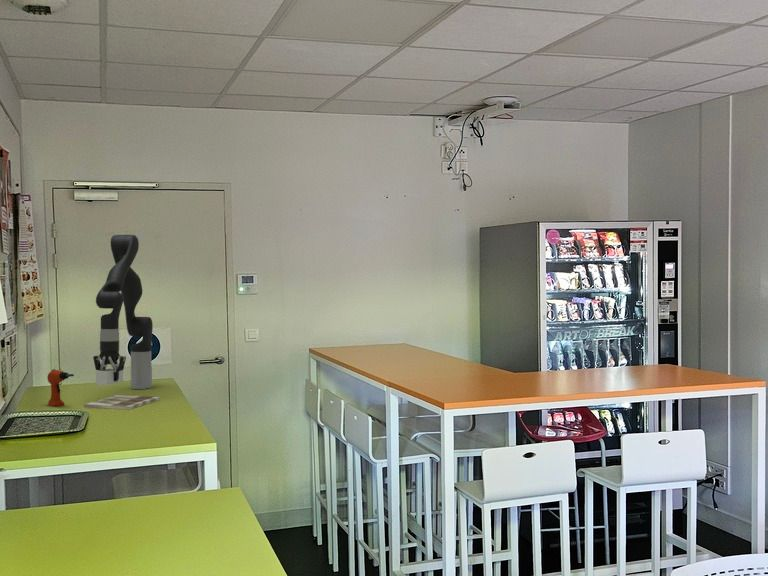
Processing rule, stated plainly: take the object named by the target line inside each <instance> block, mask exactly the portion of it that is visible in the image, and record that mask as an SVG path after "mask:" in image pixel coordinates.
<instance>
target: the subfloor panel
mask: <svg viewBox="0 0 768 576" xmlns="http://www.w3.org/2000/svg"><path fill="white" fill-rule="evenodd" d="M156 400H157V401H159V400H160V396H155V395H154V396H153V395H126V394H125V395H123V394H122V395H121V394H116V395H112V396H110V397H105V398H102V399H101V398H100V399H98V400H95V401H92V402H88V403H84V404H83V408H87V409H90V408H91V409H113V410H128V411H129V410H133V409H136V408H139V407H142V406H145V405H147V404H151V403H153V401H154V402H157V401H156Z"/></svg>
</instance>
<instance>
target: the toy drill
mask: <svg viewBox="0 0 768 576" xmlns="http://www.w3.org/2000/svg"><path fill="white" fill-rule="evenodd" d="M74 376H75V375H74V373H68V372H65V371H63V370H56V368H54V369H51V371H50V372H48V373H47V381H48V383H49V384H50V388H51V389H50V390H51V394H50V398H49V400H48V402H47V406H50V407H55V408H56V407H64V406H65V402H64V401H63V400H62V399H61V389H60V388H61V387H60V383H61V382H63V381H64V380H67V379H69V377H70V378H71V377H74Z"/></svg>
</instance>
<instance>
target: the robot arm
mask: <svg viewBox="0 0 768 576" xmlns="http://www.w3.org/2000/svg"><path fill="white" fill-rule="evenodd" d="M139 243H140V242H139V239H138V236H136V234H114V235H112V236H111V238H110V249H111V253H112V257H113V260H114V265H113V266H112V267H111V269H110V270H109V271H108V274H107V277H106V280H105V283H104V284H103V285H102V287H101V288H100V290H98V292H97V294H96V296H95V303H96V306H97V308H99V309H104V310H105V309H106V310H107V309H110V310H111V309H112V310H111V312H110V313H106V314H103V315H101V316H100V332H99V351H100V353H99V354H98V355H94V356H93V357H92V359H93V364H94V368H95V370H96V371H100V370H105V369H107V367H108V365H110V366H111V368H113V370H114V381H118V380H119V371H121V370H123V371H124V368H125V364H126V361H127V360H126V359H127V357H126V356H124V355H120V330H119V328H120V327H119V326H120V325H119V323H120V322H119V319H120V315H121V311H122V310H121V309H122V307H124V313H125V314H124V315H125V322H126V331H127V334H128V335H129V336H130V337H139V338H141V337H142V339H141V341H139V342H136V343H134V344H132V345H131V346H130V389H132V390H146V389H147V388H148V389H152V387H151V386H153V366H152V346H153V320H152V318H151V317H150V316H136V314H135V313H136V312H135V309H136V307H137V305H138V303H139V302H140V300H141V298H142V296H143V286H142V280H141V278H140V276H139V275H138V274H137V272H136V271H135V270H134V269H133V268H132V267H131V266H132V264H133V262H134V261H135V259H136V257H137V255H138V251H139V248H140V244H139ZM118 361H119V362H118Z"/></svg>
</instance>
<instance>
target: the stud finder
mask: <svg viewBox="0 0 768 576" xmlns="http://www.w3.org/2000/svg"><path fill="white" fill-rule="evenodd" d="M123 374H124V369H123V370H121V371H119V380H118V381H114V370H113V367H111V368H106V369H105V370H100V371H99V370H96V371H95V385H96V386H110V385H114V384H118V383H121V382H123V381H124V375H123Z"/></svg>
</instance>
